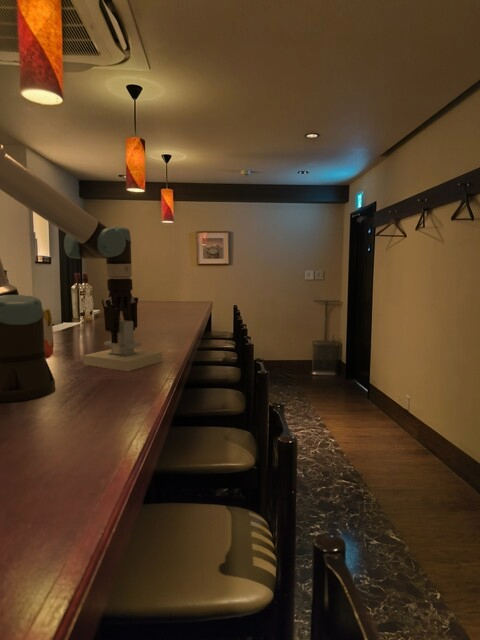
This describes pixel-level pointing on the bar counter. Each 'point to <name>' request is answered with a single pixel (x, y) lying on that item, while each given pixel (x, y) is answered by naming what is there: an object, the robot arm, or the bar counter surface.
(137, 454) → the bar counter surface
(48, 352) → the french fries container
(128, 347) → the servo
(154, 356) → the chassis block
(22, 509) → the bar counter surface
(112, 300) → the robot arm
